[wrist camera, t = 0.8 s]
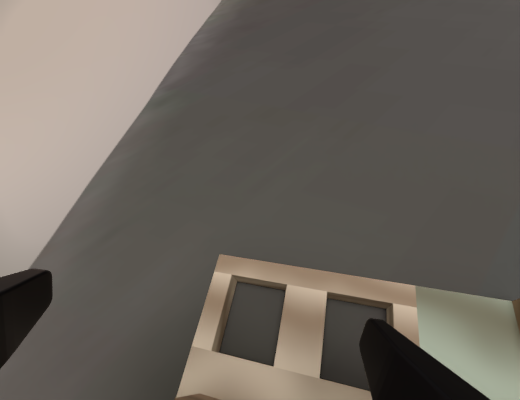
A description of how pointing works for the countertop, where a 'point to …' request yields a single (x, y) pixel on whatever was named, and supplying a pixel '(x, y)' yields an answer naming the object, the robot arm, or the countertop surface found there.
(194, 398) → the walnut block
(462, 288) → the countertop surface
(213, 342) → the trap board
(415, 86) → the countertop surface
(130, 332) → the countertop surface
